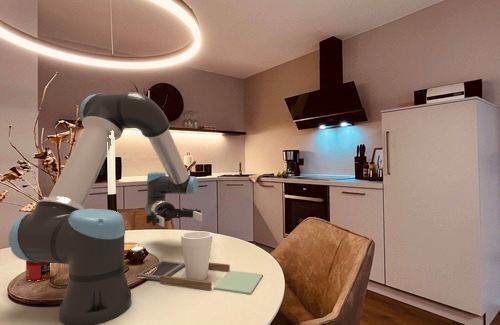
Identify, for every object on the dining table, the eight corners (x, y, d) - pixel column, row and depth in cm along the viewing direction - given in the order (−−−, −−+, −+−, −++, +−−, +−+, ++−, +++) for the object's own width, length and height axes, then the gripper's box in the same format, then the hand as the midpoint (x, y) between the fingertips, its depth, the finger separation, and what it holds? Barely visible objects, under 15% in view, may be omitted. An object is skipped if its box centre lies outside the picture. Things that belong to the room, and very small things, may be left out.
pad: (251, 294, 73) (251, 292, 73) (213, 289, 76) (213, 287, 76) (262, 275, 85) (262, 274, 85) (230, 271, 89) (230, 270, 89)
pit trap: (162, 281, 81) (162, 277, 81) (136, 278, 83) (136, 274, 83) (184, 266, 93) (184, 263, 93) (162, 263, 96) (162, 260, 96)
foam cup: (179, 273, 87) (179, 232, 88) (207, 269, 91) (207, 230, 91) (184, 285, 79) (184, 240, 79) (215, 280, 82) (215, 236, 82)
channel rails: (210, 290, 75) (210, 283, 75) (160, 283, 80) (160, 276, 80) (229, 270, 90) (229, 264, 90) (186, 265, 94) (186, 259, 94)
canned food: (45, 282, 81) (45, 245, 81) (18, 282, 81) (19, 244, 81) (63, 272, 88) (63, 238, 89) (39, 272, 89) (39, 238, 89)
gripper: (192, 216, 118) (215, 225, 101) (130, 224, 104) (145, 236, 86) (192, 199, 118) (215, 205, 101) (130, 204, 104) (145, 213, 86)
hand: (183, 220), depth 94 cm, fingers open, 13 cm apart
